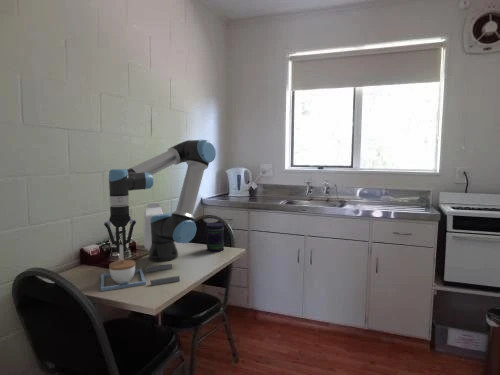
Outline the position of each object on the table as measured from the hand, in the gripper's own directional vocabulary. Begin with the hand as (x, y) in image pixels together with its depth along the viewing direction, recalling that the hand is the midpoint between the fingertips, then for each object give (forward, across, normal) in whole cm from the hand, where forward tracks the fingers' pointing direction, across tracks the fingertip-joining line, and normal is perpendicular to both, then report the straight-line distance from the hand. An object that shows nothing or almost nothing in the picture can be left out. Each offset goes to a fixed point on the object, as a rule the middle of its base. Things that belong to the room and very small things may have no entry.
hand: (121, 259), depth 146 cm
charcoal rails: (+9, +17, -1) cm, 19 cm away
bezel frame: (+10, 0, 0) cm, 10 cm away
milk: (+10, +21, +52) cm, 56 cm away
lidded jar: (+10, 0, 0) cm, 10 cm away
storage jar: (+9, +51, +28) cm, 59 cm away
